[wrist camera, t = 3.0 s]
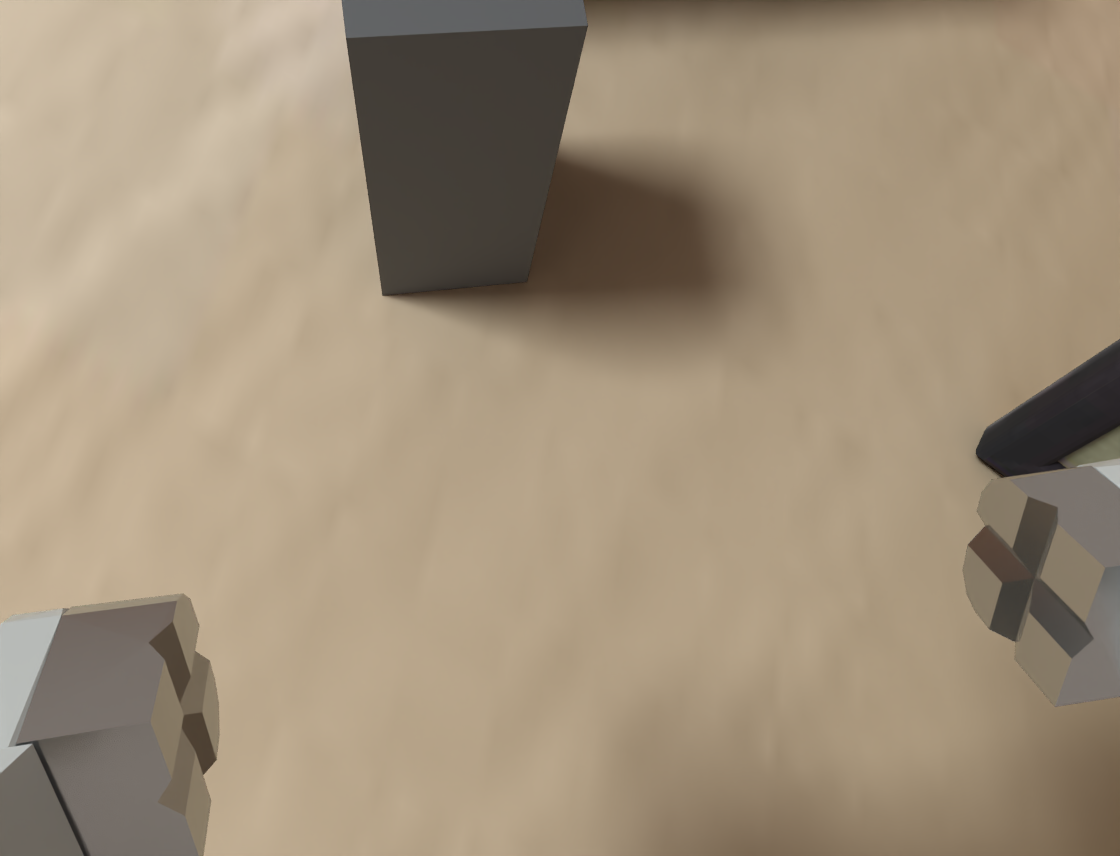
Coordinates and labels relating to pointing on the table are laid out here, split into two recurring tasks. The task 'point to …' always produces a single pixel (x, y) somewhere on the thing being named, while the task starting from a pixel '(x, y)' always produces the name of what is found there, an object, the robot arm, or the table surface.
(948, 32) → the table surface
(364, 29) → the tall grey pillar block
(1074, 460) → the picture frame
